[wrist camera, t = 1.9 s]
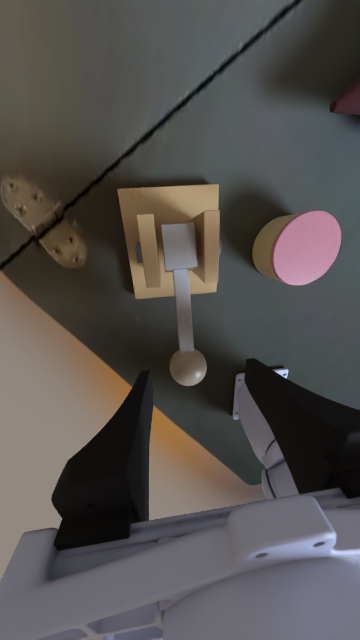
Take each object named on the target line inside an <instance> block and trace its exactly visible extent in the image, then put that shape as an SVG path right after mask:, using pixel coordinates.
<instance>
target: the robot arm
mask: <svg viewBox="0 0 360 640" xmlns="http://www.w3.org/2000/svg"><path fill="white" fill-rule="evenodd" d="M287 375H288V370H287V369H286V368H280V369H270V368H269V367H267V366H266V365H264V364H263V363H261V362H260V361H258V360H256V359H255V358H252V359H246V367H245V373H239V374H237V375H236V380H235V392H234V404H233V419H240V421H241V424H242V426H243V428H244V430H245V433H246V435H247V437H248V439H249V441H250V444H251V446H252V448H253V450H254V453H255V454H256V456H257V458H258V459H259V460H260V461H261V462H262V463H263V464H264V465H265V467H266V468H265V469H263V470H262V487H263V491H264V494H265V497H266V500H261V501H255V502H250V503H247V504H242V505H236V506H230V507H225V508H219V509H213V510H207V511H201V512H196V513H190V514H184V515H179V516H173V517H167V518H161V519H155V520H150V521H149V440H150V430H151V421H152V411H153V388H152V382H151V375H150V370H147V371H141V372H140V373H139V376H138V378H137V380H136V382H135V384H134V386H133V387H132V389H131V391H130V393H129V394H128V396H127V397H126V399H125V400H124V402H123V404H122V405H121V406H120V408H119V409H118V410H117V412H116V413H115V414H114V416H113V417H112V418H111V419H110V420H109V422H108V423H107V424H106V425H105V426H104V427H103V428H102V429H101V431H100V432H99V433H98V434H97V435H96V436H95V437H94V438H93V439H92V440H91V441H90V442H89V443H88V444H87V445H85V446H84V447H83V448H82V449H81V450H80V451H79V452H78V453H76V454H75V455H74V456H73V457H72V458H70V459H69V460H68V462H67V464H66V465H65V467H64V469H63V471H62V473H61V476H60V478H59V480H58V482H57V485H56V487H55V490H54V492H53V494H52V498H51V501H52V503H53V506H54V507H55V509H56V510H57V511H58V513H59V514H60V516H61V517H62V521H61V524H60V527H59V530H58V529H56V528H46V529H40V530H34V531H29V532H25V533H24V534H22V536H21V538H20V540H19V543H18V545H17V547H16V549H15V551H14V553H13V555H12V558H11V560H10V562H9V564H8V566H7V569H6V571H5V573H4V575H3V577H2V579H1V582H0V640H158V639H163V640H360V410H357V409H354V408H351V407H348V406H345V405H342V404H340V403H337V402H334V401H332V400H329V399H327V398H324V397H322V396H320V395H317V394H315V393H313V392H311V391H309V390H307V389H305V388H303V387H301V386H299V385H297V384H295V383H293V382H292V381H290V380H288V379H287ZM239 379H240V380H239Z"/></svg>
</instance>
